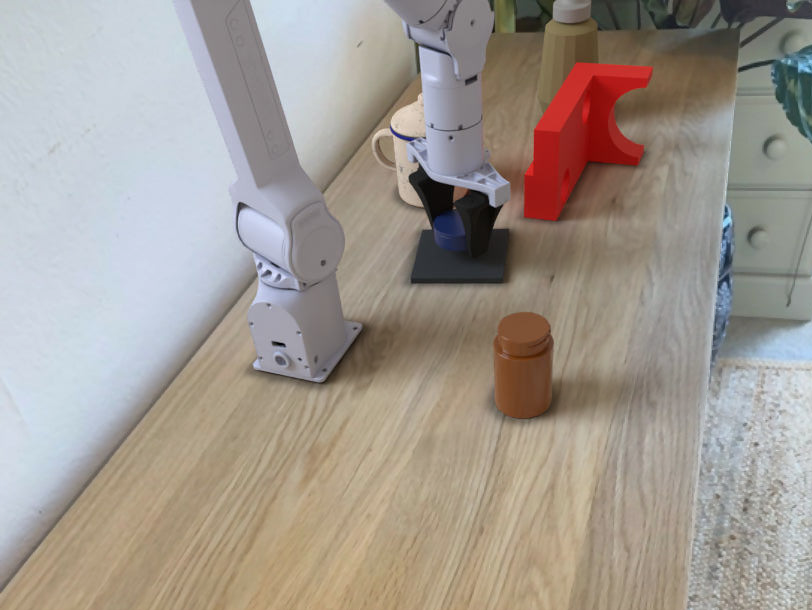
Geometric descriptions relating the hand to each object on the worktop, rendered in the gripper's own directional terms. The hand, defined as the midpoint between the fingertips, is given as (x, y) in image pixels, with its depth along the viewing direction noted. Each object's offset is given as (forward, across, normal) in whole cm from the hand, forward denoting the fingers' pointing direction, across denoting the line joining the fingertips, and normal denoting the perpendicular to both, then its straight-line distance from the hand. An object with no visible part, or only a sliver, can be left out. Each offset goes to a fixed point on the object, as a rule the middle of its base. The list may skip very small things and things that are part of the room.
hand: (460, 243), depth 94 cm
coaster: (+2, 0, 0) cm, 2 cm away
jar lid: (-2, 0, 0) cm, 2 cm away
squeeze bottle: (+2, +16, -31) cm, 35 cm away
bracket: (+2, +2, -21) cm, 21 cm away
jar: (+2, -23, +11) cm, 25 cm away
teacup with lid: (+2, +15, -6) cm, 17 cm away
